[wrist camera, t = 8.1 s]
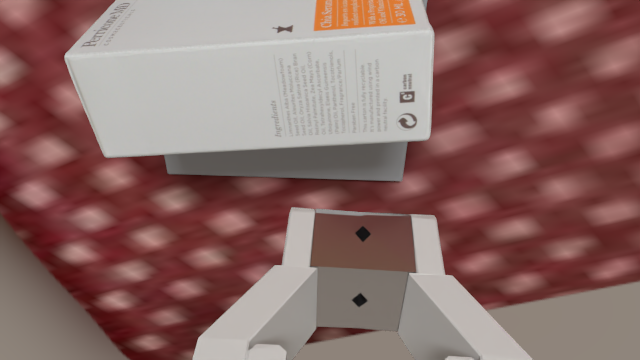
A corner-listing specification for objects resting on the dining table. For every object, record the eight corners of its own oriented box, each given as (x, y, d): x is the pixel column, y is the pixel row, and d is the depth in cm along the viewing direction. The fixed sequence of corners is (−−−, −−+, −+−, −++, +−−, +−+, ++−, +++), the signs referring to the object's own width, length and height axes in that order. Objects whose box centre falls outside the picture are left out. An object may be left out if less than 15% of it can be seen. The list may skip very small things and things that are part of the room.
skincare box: (438, 25, 16) (57, 56, 17) (433, 142, 19) (102, 164, 20) (415, -36, 21) (117, -9, 22) (413, 64, 24) (147, 84, 25)
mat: (443, -134, 19) (445, -131, 19) (401, 175, 28) (402, 181, 28) (108, -141, 20) (103, -139, 19) (170, 167, 28) (168, 173, 28)
